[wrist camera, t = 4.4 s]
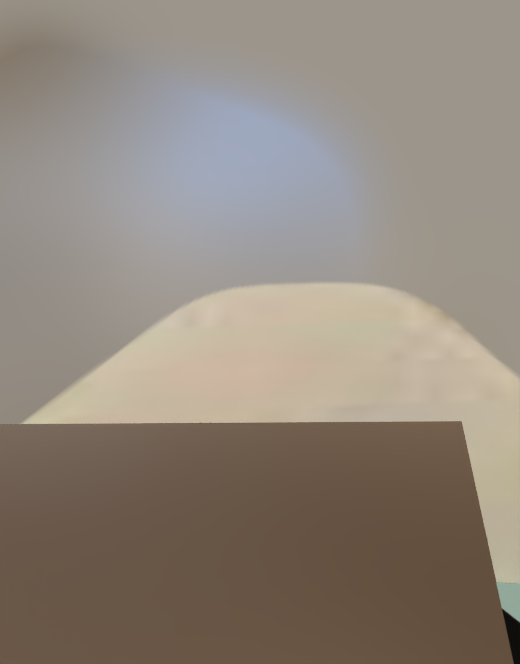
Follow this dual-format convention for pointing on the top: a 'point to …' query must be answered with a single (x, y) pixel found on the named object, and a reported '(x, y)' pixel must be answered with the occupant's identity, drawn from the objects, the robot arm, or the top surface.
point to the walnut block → (244, 545)
